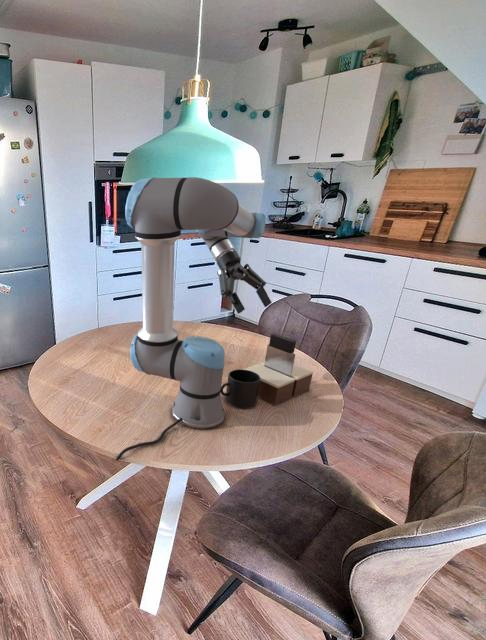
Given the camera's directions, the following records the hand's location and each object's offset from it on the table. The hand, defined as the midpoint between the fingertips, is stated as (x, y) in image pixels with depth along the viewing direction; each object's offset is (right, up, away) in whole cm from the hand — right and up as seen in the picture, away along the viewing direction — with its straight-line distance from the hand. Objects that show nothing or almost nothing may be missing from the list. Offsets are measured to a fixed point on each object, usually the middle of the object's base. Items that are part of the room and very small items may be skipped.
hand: (255, 308), depth 129 cm
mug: (-8, -31, -6) cm, 33 cm away
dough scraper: (+7, -21, -2) cm, 22 cm away
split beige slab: (+7, -27, +1) cm, 28 cm away
